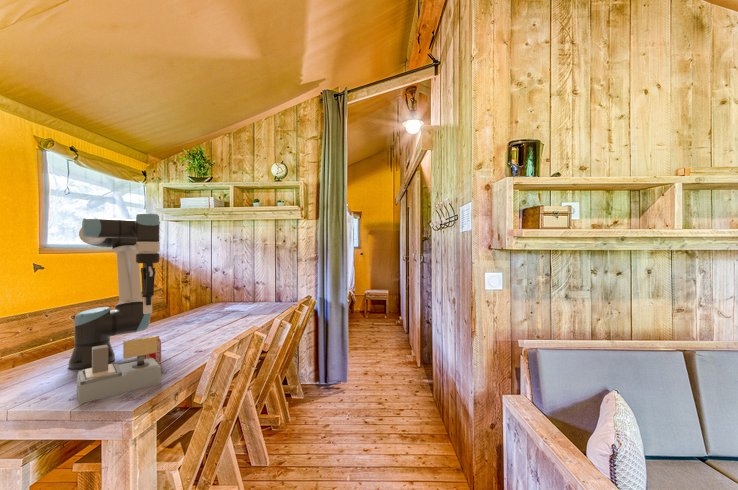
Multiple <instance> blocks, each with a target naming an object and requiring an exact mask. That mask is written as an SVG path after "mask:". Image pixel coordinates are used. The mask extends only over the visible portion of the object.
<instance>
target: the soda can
mask: <svg viewBox="0 0 738 490" xmlns="http://www.w3.org/2000/svg"><path fill="white" fill-rule="evenodd" d="M150 336H151V335H149V336H148V337H150ZM156 336H157V352H156V353H151V354H147V355H144V359H149V358H153V359H154V360H155V361H156V362H157V363H158V364H159V365H160V364H161V362H162V341H161V339H160V336H159V335H156Z"/></svg>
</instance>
